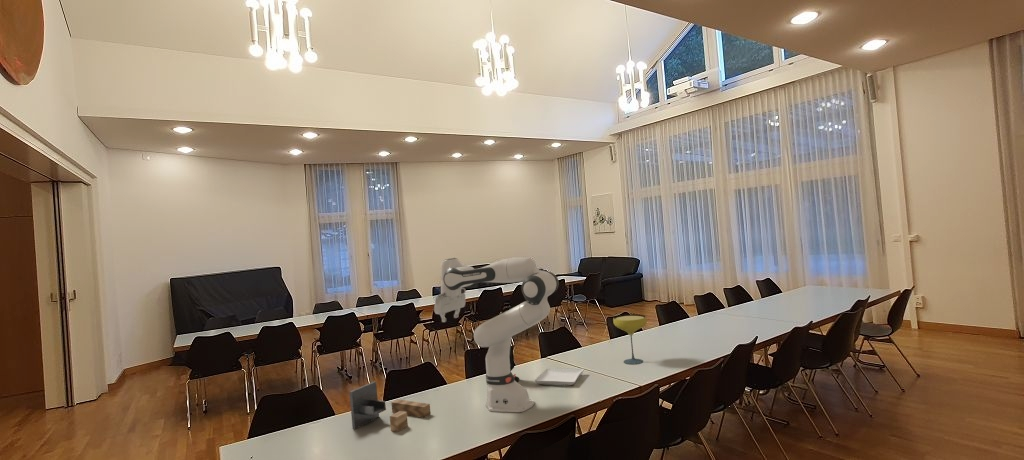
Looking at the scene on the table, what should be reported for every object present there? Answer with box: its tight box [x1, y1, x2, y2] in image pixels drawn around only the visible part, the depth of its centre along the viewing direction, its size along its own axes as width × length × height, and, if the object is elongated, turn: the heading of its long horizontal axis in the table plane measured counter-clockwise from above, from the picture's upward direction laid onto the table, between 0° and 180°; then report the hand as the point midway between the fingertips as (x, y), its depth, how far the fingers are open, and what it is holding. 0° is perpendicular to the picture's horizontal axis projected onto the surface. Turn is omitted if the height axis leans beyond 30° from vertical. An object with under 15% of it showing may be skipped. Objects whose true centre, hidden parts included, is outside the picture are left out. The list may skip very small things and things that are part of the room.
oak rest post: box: [389, 411, 409, 433], centre depth 202 cm, size 4×6×6 cm, turn 150°
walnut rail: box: [390, 399, 432, 419], centre depth 219 cm, size 20×4×5 cm, turn 58°
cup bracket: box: [349, 381, 387, 430], centre depth 210 cm, size 10×14×16 cm
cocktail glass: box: [612, 313, 647, 365], centre depth 269 cm, size 18×18×25 cm
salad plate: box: [534, 368, 585, 386], centre depth 248 cm, size 21×21×3 cm
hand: (450, 319), depth 232 cm, fingers open, 8 cm apart
